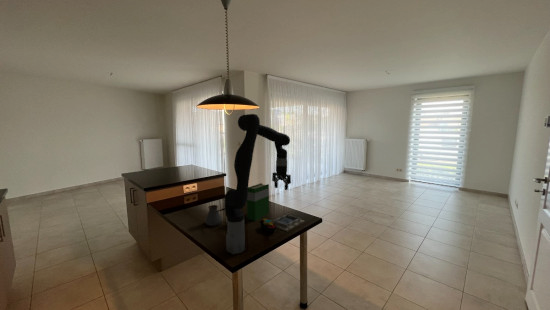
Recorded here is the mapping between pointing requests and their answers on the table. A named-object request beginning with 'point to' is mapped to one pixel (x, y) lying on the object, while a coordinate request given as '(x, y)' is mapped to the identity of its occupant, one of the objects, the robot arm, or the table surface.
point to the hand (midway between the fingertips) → (281, 188)
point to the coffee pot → (213, 216)
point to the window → (287, 222)
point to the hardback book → (257, 201)
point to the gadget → (268, 225)
